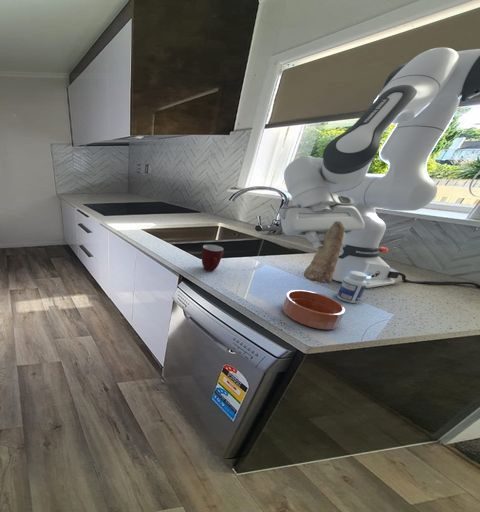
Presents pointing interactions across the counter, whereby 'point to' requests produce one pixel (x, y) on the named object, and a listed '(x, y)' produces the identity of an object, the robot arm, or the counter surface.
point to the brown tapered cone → (326, 255)
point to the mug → (211, 256)
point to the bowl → (313, 309)
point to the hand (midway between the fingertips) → (330, 247)
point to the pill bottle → (352, 287)
